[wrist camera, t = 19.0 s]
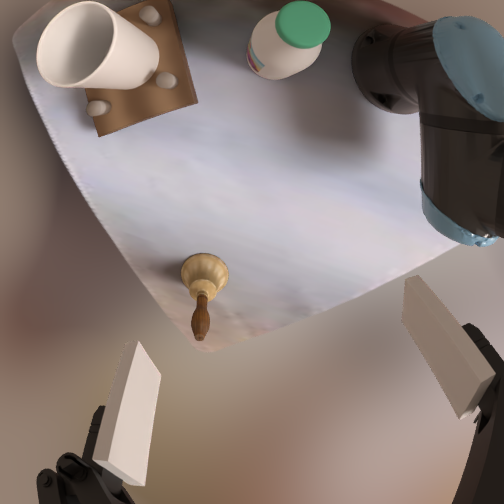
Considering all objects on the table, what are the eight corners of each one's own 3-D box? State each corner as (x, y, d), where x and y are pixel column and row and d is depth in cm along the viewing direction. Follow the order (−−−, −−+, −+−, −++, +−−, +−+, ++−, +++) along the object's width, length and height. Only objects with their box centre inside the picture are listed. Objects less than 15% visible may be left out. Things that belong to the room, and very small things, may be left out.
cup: (90, 66, 31) (22, 58, 16) (132, 22, 28) (80, -14, 14) (128, 101, 34) (70, 105, 20) (172, 56, 32) (135, 30, 17)
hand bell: (208, 244, 50) (200, 303, 36) (238, 278, 53) (241, 343, 39) (171, 269, 52) (153, 332, 38) (201, 301, 55) (194, 366, 41)
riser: (172, 4, 31) (159, -17, 23) (198, 103, 39) (190, 102, 31) (87, 38, 32) (59, 29, 24) (111, 133, 40) (86, 141, 32)
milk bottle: (307, 44, 36) (360, 9, 18) (288, 88, 39) (331, 78, 21) (257, 25, 34) (277, -28, 16) (237, 69, 37) (243, 42, 20)
